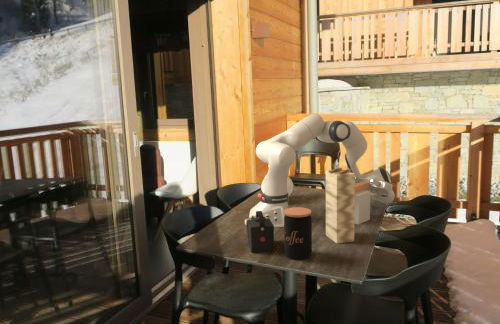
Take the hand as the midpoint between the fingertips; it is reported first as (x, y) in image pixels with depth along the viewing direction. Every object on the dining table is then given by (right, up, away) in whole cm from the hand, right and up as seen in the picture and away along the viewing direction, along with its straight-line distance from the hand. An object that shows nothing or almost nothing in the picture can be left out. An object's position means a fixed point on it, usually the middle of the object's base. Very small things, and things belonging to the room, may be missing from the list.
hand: (363, 179), depth 221 cm
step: (-4, -20, -1) cm, 20 cm away
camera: (-50, -27, -31) cm, 65 cm away
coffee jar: (-36, -29, -42) cm, 62 cm away
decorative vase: (-40, -15, +33) cm, 54 cm away
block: (-5, -6, -4) cm, 8 cm away
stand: (-16, -24, -25) cm, 39 cm away
